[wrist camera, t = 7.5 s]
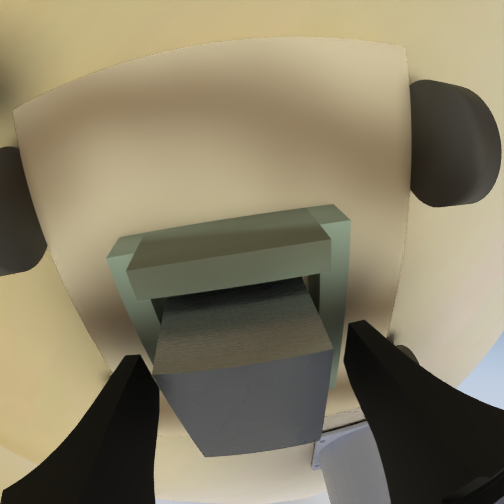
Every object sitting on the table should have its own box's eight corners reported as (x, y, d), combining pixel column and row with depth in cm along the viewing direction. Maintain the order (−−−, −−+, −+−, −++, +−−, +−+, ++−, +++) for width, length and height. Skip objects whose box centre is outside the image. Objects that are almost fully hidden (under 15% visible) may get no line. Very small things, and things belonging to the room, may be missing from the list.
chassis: (380, 385, 18) (403, 434, 14) (141, 422, 17) (135, 475, 13) (419, 56, 8) (497, 51, 4) (4, 121, 8) (-70, 142, 4)
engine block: (292, 344, 13) (320, 440, 8) (204, 357, 13) (204, 457, 8) (287, 245, 10) (333, 348, 6) (174, 262, 10) (151, 374, 6)
